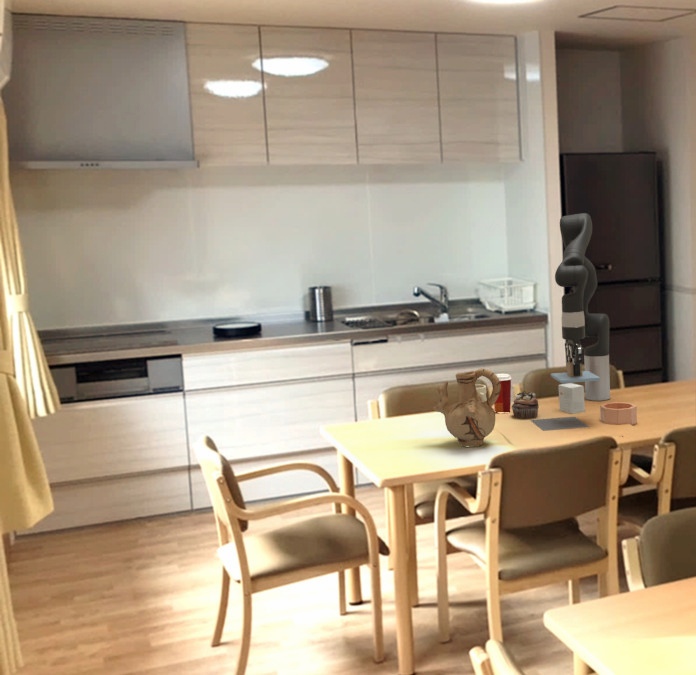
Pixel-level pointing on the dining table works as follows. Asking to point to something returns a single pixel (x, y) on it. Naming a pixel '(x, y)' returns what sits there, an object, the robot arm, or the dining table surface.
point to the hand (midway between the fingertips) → (574, 374)
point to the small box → (571, 398)
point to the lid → (570, 378)
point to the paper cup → (504, 393)
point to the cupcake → (525, 406)
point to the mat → (559, 423)
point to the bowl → (618, 413)
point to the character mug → (481, 391)
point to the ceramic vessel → (469, 408)
